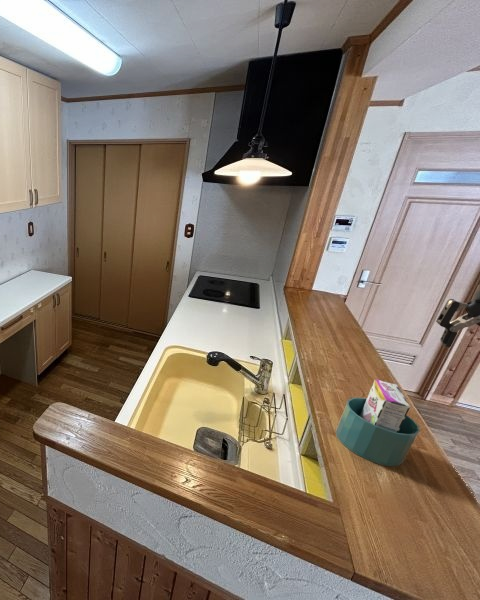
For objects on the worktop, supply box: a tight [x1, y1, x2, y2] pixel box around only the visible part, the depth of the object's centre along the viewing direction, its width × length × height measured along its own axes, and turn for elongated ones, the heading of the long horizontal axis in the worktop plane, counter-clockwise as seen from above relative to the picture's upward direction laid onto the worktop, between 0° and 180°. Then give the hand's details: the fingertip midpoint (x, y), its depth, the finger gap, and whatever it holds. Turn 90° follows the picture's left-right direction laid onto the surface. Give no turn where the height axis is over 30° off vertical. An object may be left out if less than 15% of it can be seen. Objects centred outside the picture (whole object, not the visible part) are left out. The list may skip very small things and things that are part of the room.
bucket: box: [335, 397, 421, 467], centre depth 86 cm, size 14×14×10 cm
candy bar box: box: [360, 378, 411, 433], centre depth 85 cm, size 11×5×16 cm, turn 150°
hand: (473, 351), depth 70 cm, fingers open, 8 cm apart
